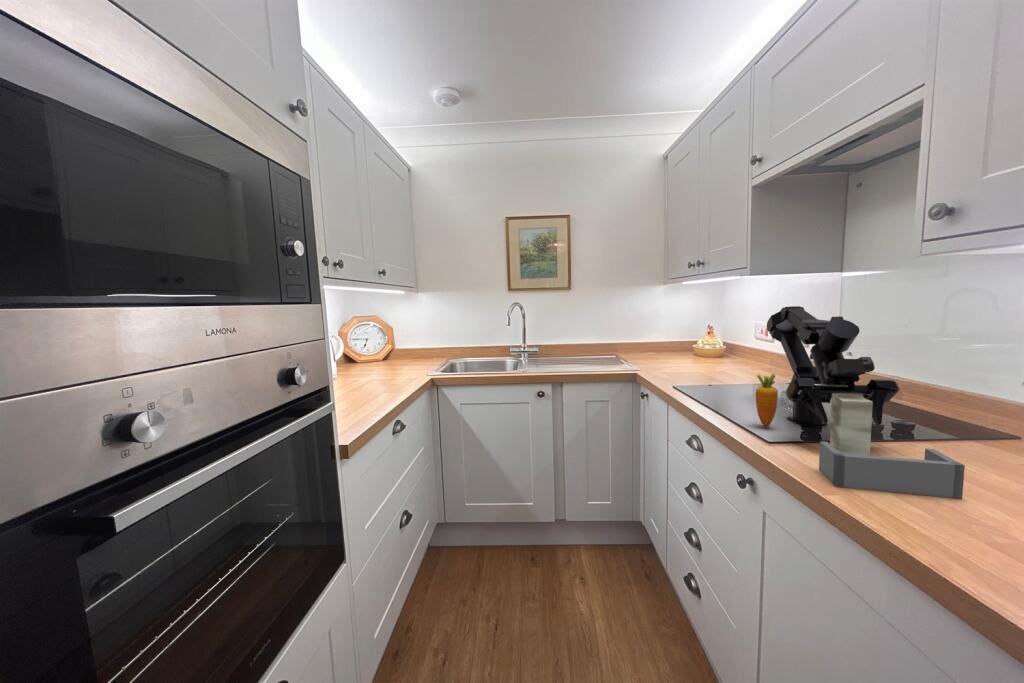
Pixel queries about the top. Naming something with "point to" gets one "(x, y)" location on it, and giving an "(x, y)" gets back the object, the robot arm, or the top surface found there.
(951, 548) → the top surface
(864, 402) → the sage block
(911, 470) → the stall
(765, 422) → the carrot
